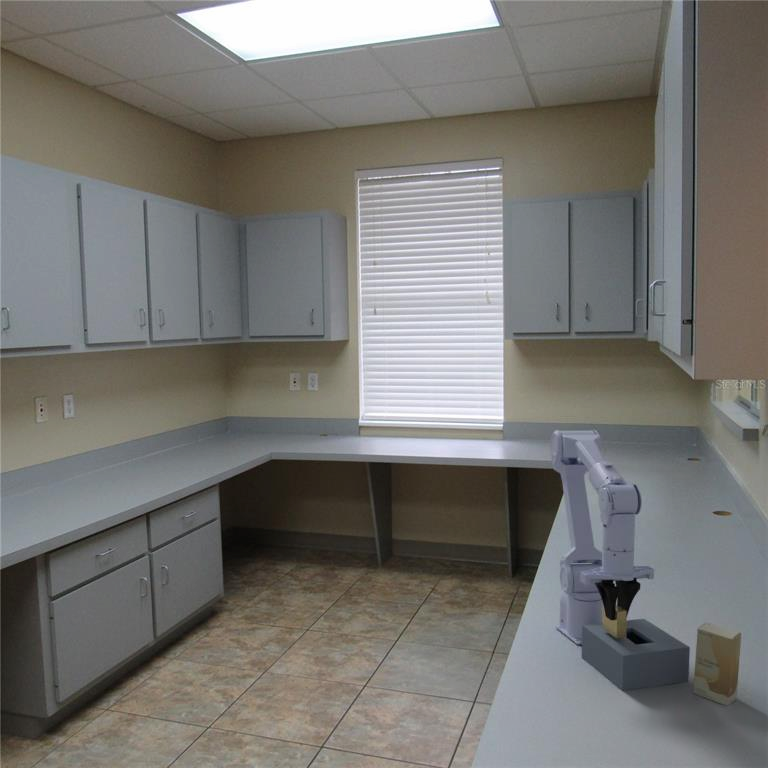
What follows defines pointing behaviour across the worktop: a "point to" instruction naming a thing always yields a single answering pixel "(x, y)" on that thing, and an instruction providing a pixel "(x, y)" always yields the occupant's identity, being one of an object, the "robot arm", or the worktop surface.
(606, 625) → the block
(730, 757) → the worktop surface
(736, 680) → the skincare box
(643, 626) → the slot box
